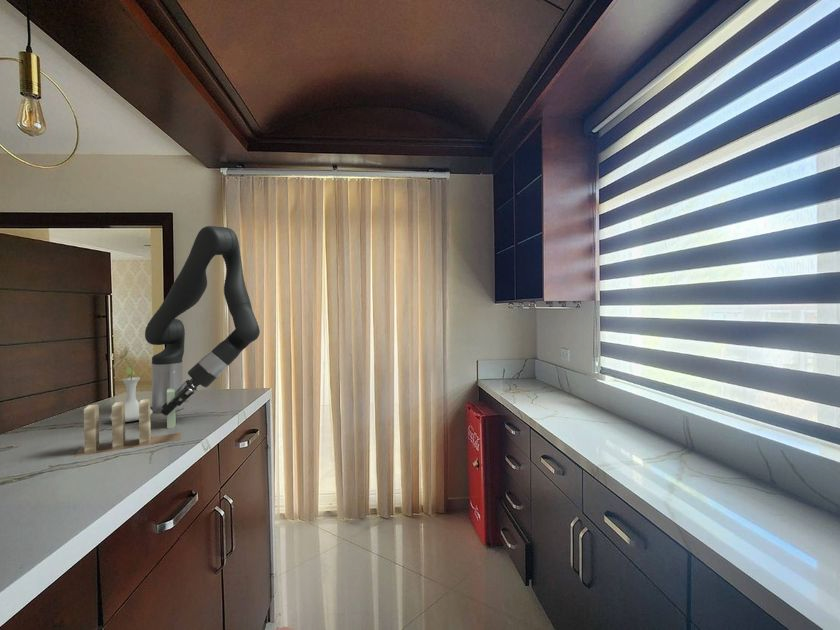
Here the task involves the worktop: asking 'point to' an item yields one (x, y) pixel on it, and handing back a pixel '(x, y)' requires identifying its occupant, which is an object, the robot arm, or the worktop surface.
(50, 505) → the worktop surface
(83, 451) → the board
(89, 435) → the end domino
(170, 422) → the green domino
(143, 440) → the domino
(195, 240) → the robot arm
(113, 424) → the domino
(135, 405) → the flower in vase
